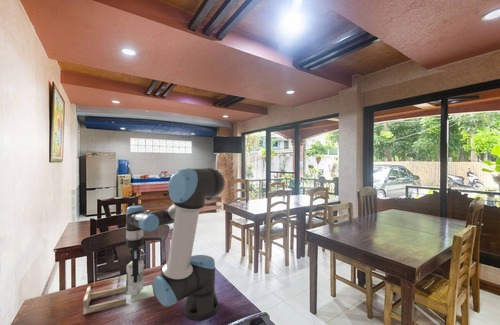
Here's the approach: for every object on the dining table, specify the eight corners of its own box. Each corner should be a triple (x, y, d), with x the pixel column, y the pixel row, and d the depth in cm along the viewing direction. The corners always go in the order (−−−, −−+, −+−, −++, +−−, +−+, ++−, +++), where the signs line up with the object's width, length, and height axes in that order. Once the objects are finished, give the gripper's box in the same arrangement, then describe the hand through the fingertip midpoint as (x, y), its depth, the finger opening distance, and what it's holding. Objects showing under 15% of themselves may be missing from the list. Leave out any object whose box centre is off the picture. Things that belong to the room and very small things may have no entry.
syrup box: (132, 288, 117) (132, 259, 117) (143, 288, 117) (143, 259, 117) (125, 295, 111) (125, 264, 111) (138, 295, 111) (138, 264, 111)
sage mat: (154, 296, 113) (154, 295, 113) (130, 302, 109) (130, 301, 109) (152, 285, 123) (152, 284, 123) (130, 290, 118) (130, 289, 118)
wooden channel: (126, 304, 107) (126, 291, 107) (83, 314, 100) (83, 300, 99) (126, 290, 118) (126, 278, 118) (87, 299, 111) (87, 286, 110)
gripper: (144, 243, 107) (144, 292, 107) (142, 231, 124) (142, 273, 125) (126, 245, 103) (126, 297, 103) (126, 233, 121) (126, 277, 121)
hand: (135, 284), depth 114 cm, fingers closed on syrup box, 7 cm apart
